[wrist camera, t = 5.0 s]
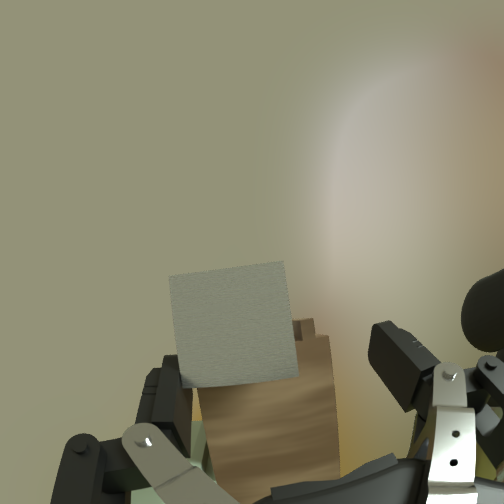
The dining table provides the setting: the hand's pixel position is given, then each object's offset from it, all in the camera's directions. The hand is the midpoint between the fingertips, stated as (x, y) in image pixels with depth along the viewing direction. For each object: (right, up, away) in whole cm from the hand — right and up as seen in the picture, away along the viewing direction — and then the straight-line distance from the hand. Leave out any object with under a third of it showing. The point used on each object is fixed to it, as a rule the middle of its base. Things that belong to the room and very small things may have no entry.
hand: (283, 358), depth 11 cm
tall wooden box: (+3, -35, +9) cm, 36 cm away
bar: (-1, -3, +10) cm, 11 cm away
